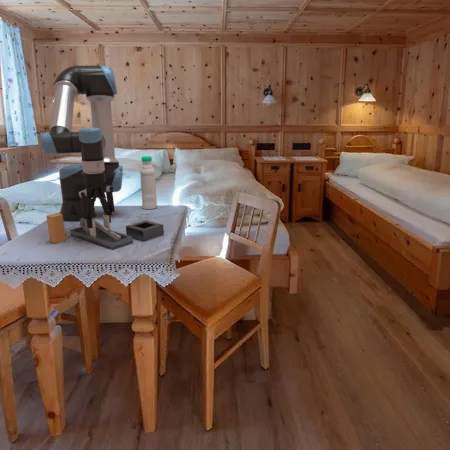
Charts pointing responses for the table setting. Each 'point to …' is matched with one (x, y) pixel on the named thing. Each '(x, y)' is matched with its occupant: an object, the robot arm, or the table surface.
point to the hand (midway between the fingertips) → (100, 233)
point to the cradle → (102, 238)
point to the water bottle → (148, 184)
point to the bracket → (97, 224)
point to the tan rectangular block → (56, 228)
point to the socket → (145, 230)
